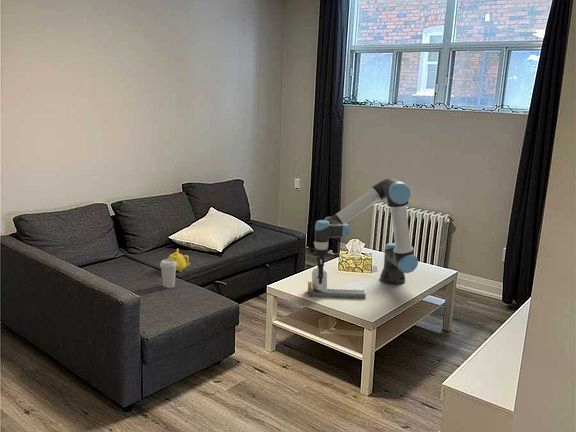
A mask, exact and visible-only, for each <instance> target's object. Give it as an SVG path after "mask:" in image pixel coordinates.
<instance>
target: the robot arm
mask: <svg viewBox="0 0 576 432" xmlns="http://www.w3.org/2000/svg"><path fill="white" fill-rule="evenodd" d="M411 194H412V193H411V189H410V187H409V186H408V185H407V184H406V183H405V182H403V181H400V180H397V179H395V178H391V177H388V178H386V179H385V178H384V179H382V180H380V181H379V182H377V183H376V184H374V185H373V186H371V188H370V190H369V191H367V192H366V193H364V194H363V195H361V196H360V197H359V198H357V199H355V201H353V202H351V203H350V204H348V205H346V207H344V208H343V209H341V210H340V211H338V212H336V213H335V214H334V215H332V216H326V217H325V218H324V219H319V220H316V221H315V225H314V241H313V244H314V249H313V251H314V255H315V256H316V260H317V261H316V263H317V268H318V277H317V278H318V289H323V270H324V266H325V257H327V256H328V254H329V239H330V238H346V237H349V236H350V234H351V227H350V225H349V224H348V222H350V220H352V219H353V218H355V217H356V216H358V215H359V214H361V213H363V212H364V211H365V210H367V209H368V208H370V207H371V206H372V205H374V204H375V203H378V202H382V201H383V200H385V199H386V203H387V207H389V208H390V215H391V221H392V229H393V230H392V231H393V236H394V237H393V240H394V242H389V243H386V244H385V245H384V247H385V248H384V255H383V256H384V259H383V269H382V270H381V273H380V275H379V280H380V281H381V282H383V283H386V284H390V285H401V284H404V283H406V275H405V274H410V273H412V272H414V271H415V270H416V269H417V268H418V265H419V260H418V257H417V256H416V255H415V250H414V246H412V245H411V239H410V229H409V220H408V211H407V206H408V205H409V199H410V198H411Z"/></svg>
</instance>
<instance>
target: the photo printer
mask: <svg viewBox="0 0 576 432" xmlns="http://www.w3.org/2000/svg"><path fill="white" fill-rule="evenodd" d="M311 274H312V275H311V282H312V289H315V290H318V291H322V292H325V291H327V289H328V273H327V271H326V270H325V269H323V289H318V278H317V277H318V267H317V268H314V269H312V271H311Z"/></svg>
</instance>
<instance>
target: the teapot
mask: <svg viewBox="0 0 576 432" xmlns="http://www.w3.org/2000/svg"><path fill="white" fill-rule="evenodd" d="M179 249H180V248H176V251H175V252H173V253H171V254H170V255H169V256H168V257H167V259H173V260H175V261H176V263H177V265H176V271H178V272H179V273H183V272H182V271H183V270H185V269H186V268H187V267H189V266H191V263H190V262H189V259H190V258H189V255H187V254H185V255H183V254H182V253H180V252H179Z"/></svg>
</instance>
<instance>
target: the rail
mask: <svg viewBox="0 0 576 432" xmlns="http://www.w3.org/2000/svg"><path fill="white" fill-rule="evenodd" d="M366 296H367V295H366V292H365V290H364V289H343V288H342V289H339V288H338V289H335V288H327V291H325V292H322V291H318V290H315V289H312V281H307V297H308V298H309V297H311V298H332V299H333V298H335V299H336V298H337V299H363V300H364V299H366Z"/></svg>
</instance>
